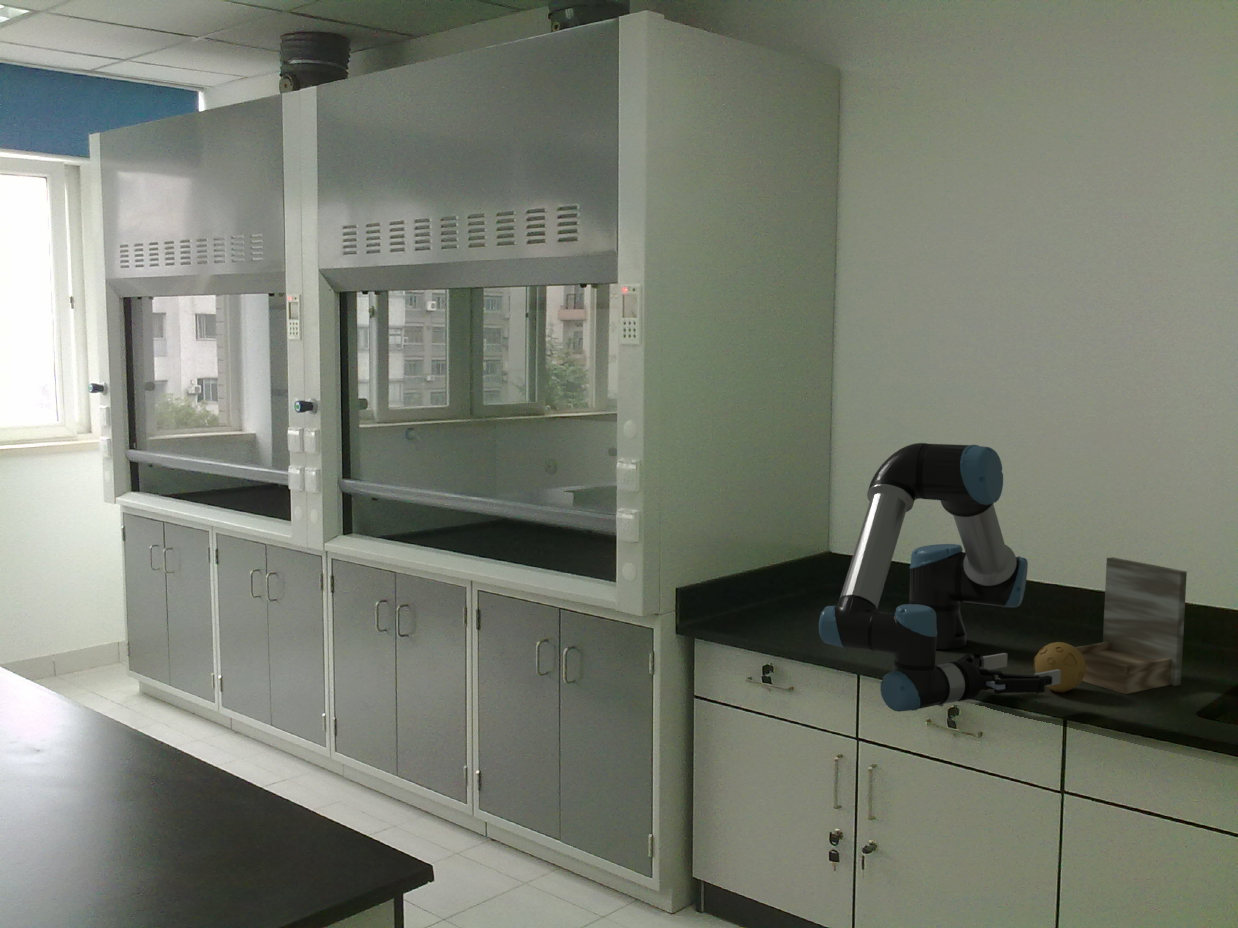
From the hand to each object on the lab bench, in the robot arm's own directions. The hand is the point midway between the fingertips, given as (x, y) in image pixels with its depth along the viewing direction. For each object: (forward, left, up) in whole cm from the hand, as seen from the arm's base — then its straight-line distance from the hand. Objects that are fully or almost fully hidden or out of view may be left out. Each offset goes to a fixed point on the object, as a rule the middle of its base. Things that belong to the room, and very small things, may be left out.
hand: (1031, 667), depth 233 cm
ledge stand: (-13, +22, -6) cm, 26 cm away
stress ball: (-4, +7, -6) cm, 10 cm away
